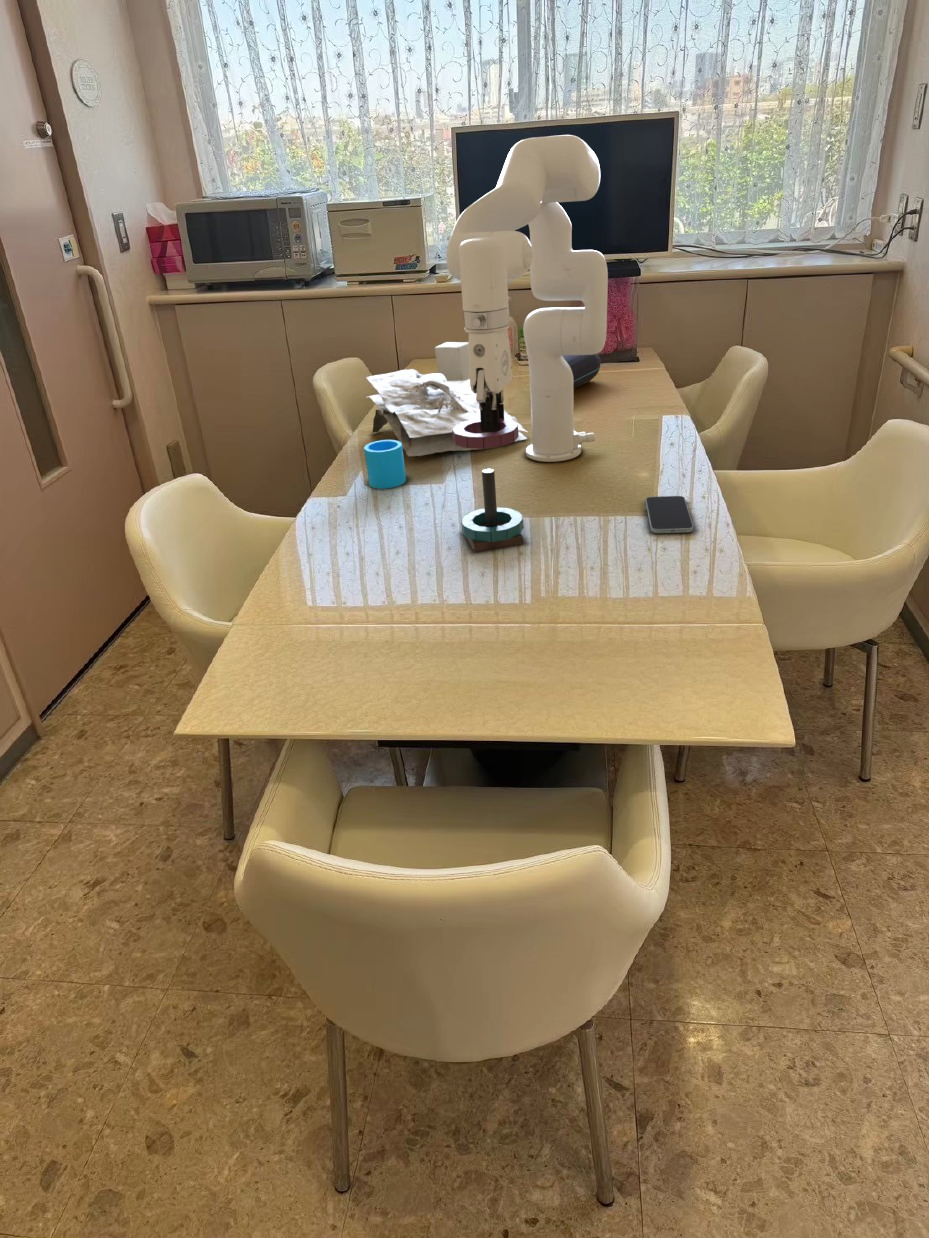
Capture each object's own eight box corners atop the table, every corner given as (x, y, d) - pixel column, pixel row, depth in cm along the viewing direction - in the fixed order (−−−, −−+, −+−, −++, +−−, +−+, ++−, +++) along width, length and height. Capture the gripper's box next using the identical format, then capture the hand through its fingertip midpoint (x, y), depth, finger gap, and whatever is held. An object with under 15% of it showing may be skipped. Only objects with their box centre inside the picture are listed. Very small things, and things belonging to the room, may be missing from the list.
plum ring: (509, 425, 148) (508, 414, 147) (524, 443, 138) (524, 431, 137) (448, 433, 146) (447, 422, 145) (460, 452, 137) (459, 440, 136)
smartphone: (651, 529, 147) (644, 497, 160) (651, 534, 148) (644, 501, 160) (694, 528, 146) (684, 495, 159) (693, 533, 146) (684, 500, 159)
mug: (400, 488, 178) (395, 452, 173) (364, 488, 179) (358, 452, 175) (415, 469, 188) (411, 434, 184) (381, 469, 189) (376, 434, 185)
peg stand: (509, 525, 156) (505, 459, 149) (523, 544, 148) (519, 475, 142) (463, 533, 154) (457, 466, 148) (474, 552, 147) (469, 483, 140)
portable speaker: (574, 377, 247) (573, 343, 242) (604, 380, 242) (604, 345, 237) (529, 399, 230) (528, 363, 225) (561, 403, 225) (560, 365, 220)
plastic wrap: (534, 410, 195) (408, 421, 183) (525, 472, 204) (405, 485, 193) (476, 357, 220) (362, 364, 208) (470, 414, 229) (361, 423, 218)
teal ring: (514, 513, 157) (513, 503, 156) (529, 536, 147) (529, 525, 146) (457, 522, 155) (456, 512, 154) (469, 545, 146) (468, 535, 145)
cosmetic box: (476, 398, 236) (472, 342, 228) (463, 404, 231) (459, 347, 224) (451, 396, 240) (447, 340, 232) (439, 402, 236) (433, 346, 228)
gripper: (493, 329, 129) (500, 444, 138) (521, 310, 142) (525, 416, 151) (448, 330, 131) (458, 443, 140) (479, 311, 144) (486, 415, 153)
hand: (493, 428), depth 145 cm, fingers closed on plum ring, 2 cm apart
